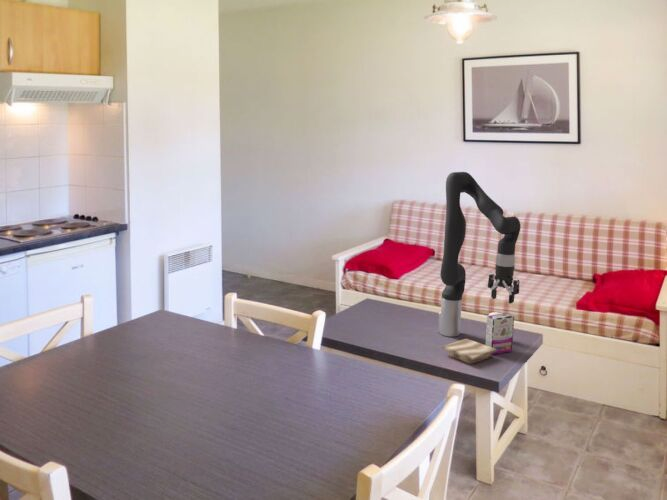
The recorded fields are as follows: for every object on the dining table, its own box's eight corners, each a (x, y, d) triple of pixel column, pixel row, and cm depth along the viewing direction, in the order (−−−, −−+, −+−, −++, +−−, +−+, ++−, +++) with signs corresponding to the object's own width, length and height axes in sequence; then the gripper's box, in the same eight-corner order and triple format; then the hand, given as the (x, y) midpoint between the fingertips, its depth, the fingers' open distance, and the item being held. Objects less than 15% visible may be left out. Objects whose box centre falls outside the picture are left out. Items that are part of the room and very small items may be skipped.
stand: (441, 355, 278) (442, 346, 277) (465, 347, 288) (466, 338, 287) (471, 366, 266) (472, 357, 265) (495, 358, 276) (496, 349, 275)
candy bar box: (504, 348, 288) (507, 312, 284) (512, 352, 283) (515, 316, 280) (483, 351, 283) (486, 315, 280) (490, 355, 279) (493, 318, 275)
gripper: (524, 265, 272) (521, 303, 275) (496, 259, 283) (493, 295, 286) (514, 268, 267) (511, 306, 271) (485, 261, 278) (483, 298, 281)
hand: (502, 300), depth 278 cm, fingers open, 8 cm apart
